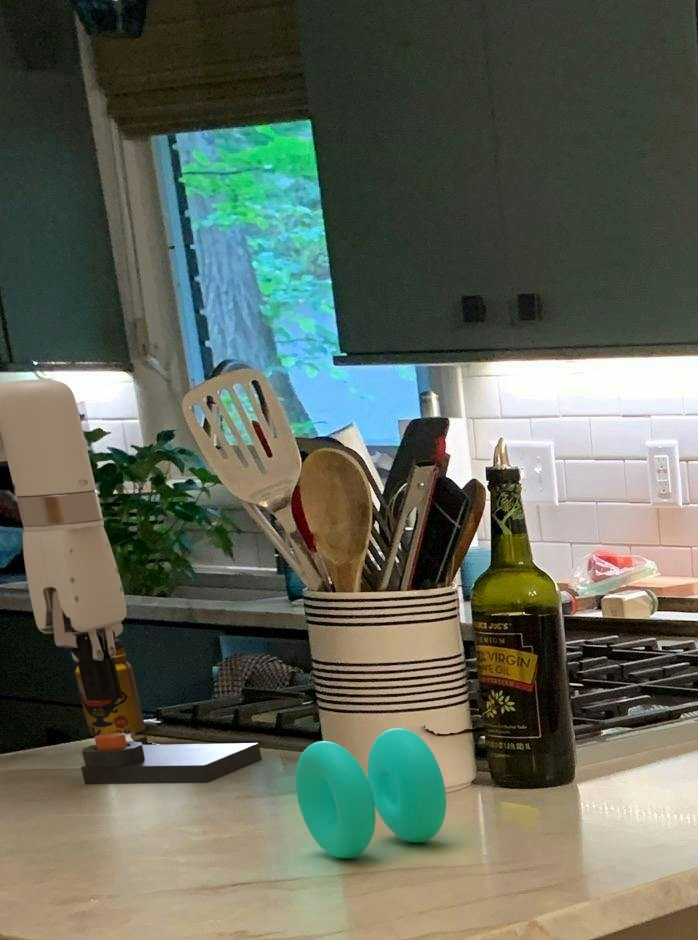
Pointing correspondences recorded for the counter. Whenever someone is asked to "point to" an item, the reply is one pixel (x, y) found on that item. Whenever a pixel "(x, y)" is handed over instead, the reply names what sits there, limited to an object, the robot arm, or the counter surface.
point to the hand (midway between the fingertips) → (104, 698)
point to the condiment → (115, 703)
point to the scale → (166, 762)
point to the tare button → (110, 741)
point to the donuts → (370, 792)
